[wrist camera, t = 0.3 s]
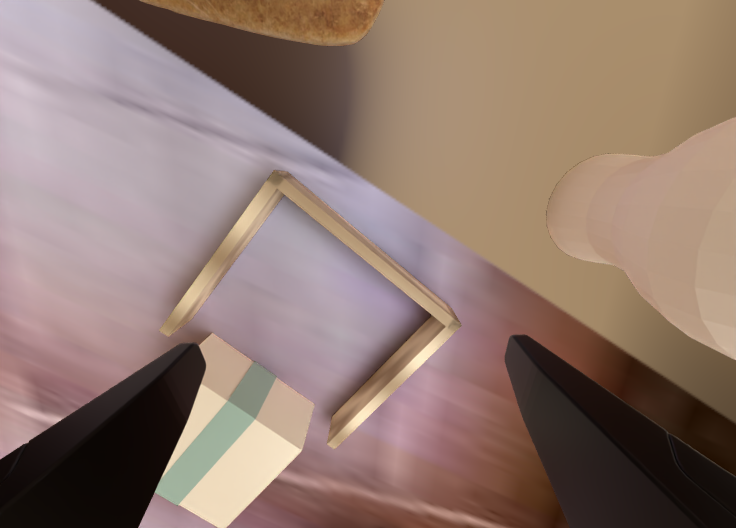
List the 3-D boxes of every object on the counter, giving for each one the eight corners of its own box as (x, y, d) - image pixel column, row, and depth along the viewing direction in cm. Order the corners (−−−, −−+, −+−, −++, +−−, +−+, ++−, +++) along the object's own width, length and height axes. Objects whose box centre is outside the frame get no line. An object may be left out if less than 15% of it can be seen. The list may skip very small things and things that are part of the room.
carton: (247, 474, 30) (222, 532, 25) (150, 413, 28) (102, 462, 23) (315, 402, 28) (302, 450, 23) (213, 331, 26) (176, 366, 21)
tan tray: (338, 421, 28) (334, 449, 25) (183, 313, 25) (158, 330, 22) (451, 308, 25) (461, 325, 22) (287, 171, 22) (274, 170, 19)
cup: (689, 126, 21) (1413, 2, 6) (659, 274, 24) (1112, 424, 9) (532, 136, 21) (872, 40, 7) (520, 280, 24) (742, 433, 9)
